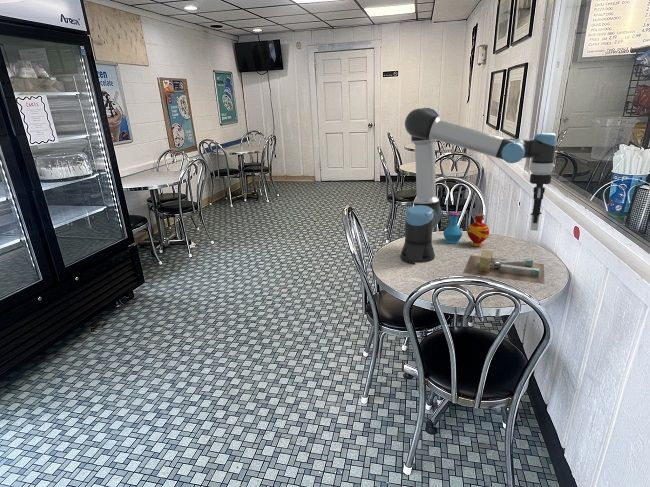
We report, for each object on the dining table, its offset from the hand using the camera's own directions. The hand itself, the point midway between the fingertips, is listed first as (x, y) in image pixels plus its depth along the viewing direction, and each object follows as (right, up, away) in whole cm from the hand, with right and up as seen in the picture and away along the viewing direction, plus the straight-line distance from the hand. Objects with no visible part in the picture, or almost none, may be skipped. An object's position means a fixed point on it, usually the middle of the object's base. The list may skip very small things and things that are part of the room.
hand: (533, 229), depth 164 cm
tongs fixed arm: (-14, -17, -6) cm, 23 cm away
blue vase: (-23, -5, +35) cm, 42 cm away
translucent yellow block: (-21, -16, -1) cm, 26 cm away
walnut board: (-14, -17, -2) cm, 22 cm away
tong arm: (-10, -15, -3) cm, 19 cm away
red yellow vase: (-13, -6, +29) cm, 32 cm away
